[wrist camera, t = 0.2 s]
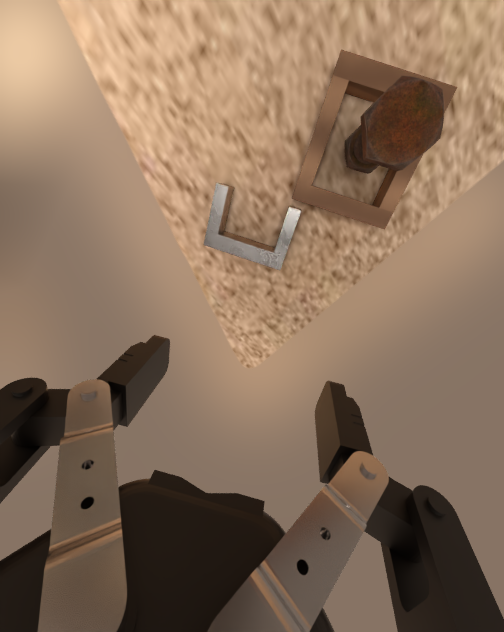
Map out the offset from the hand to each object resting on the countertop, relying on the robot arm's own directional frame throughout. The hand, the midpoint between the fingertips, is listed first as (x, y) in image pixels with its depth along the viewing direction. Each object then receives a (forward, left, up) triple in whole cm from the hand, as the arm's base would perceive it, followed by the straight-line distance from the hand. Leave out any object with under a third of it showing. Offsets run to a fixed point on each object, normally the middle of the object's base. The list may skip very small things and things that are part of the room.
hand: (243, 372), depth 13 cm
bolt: (-15, +5, -29) cm, 33 cm away
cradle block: (-3, -5, -29) cm, 29 cm away
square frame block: (-15, +5, -29) cm, 33 cm away
